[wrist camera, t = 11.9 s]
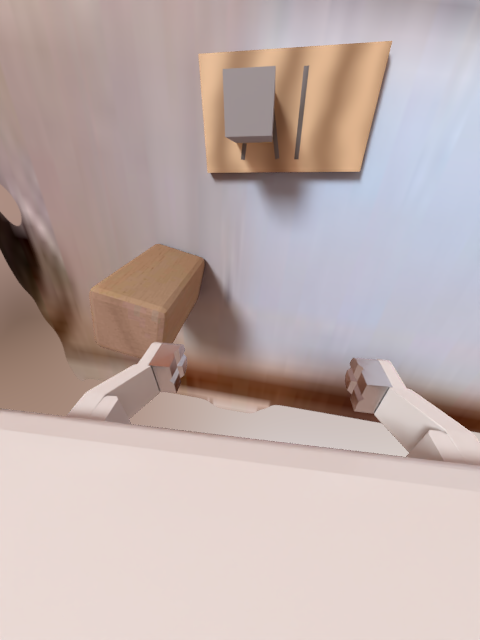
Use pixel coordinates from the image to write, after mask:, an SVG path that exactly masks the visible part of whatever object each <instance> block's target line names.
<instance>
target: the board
mask: <svg viewBox="0 0 480 640" xmlns="http://www.w3.org/2000/svg"><path fill="white" fill-rule="evenodd" d="M391 44H392V41H385V42H370V43H355V44H340V45H325V46H310V47H295V48H280V49H265V50H250V51H235V52H220V53H205V54H199V67H200V80H201V93H202V106H203V119H204V132H205V145H206V158H207V171H208V173H243V172H360V169H361V165H362V161H363V157H364V153H365V149H366V145H367V141H368V137H369V132H370V128H371V124H372V120H373V116H374V112H375V108H376V104H377V100H378V96H379V92H380V88H381V84H382V80H383V76H384V72H385V68H386V64H387V60H388V56H389V52H390V48H391ZM264 66H276V76H275V104H274V121H273V139H272V143H235V142H233V141H231V140H230V139H228V138H226V137H225V120H224V94H223V69H231V68H248V67H264Z"/></svg>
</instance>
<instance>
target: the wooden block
mask: <svg viewBox="0 0 480 640" xmlns="http://www.w3.org/2000/svg"><path fill="white" fill-rule="evenodd" d="M204 266H205V262H204V259H203V258H201V257H198V256H195V255H192V254H189V253H186V252H183V251H180V250H177V249H174V248H170V247H167V246H164V245H161V244H155V245H154V246H153V247H151V248H150V249H148V250H147V251H145V252H144V253H142V254H141V255H139V256H138V257H136V258H135V259H133V260H132V261H130V262H129V263H128V264H126V265H125V266H123V267H122V268H120V269H119V270H117V271H116V272H114V273H113V274H111V275H110V276H108V277H107V278H105V279H104V280H102V281H101V282H100V283H98V284H97V285H95V286H94V287H92V289H91V290H90V293H89V299H90V306H91V313H92V320H93V328H94V335H95V342H96V343H97V345H99V346H100V347H103V348H106V349H110V350H113V351H117V352H120V353H124V354H127V355H130V356H134V357H137V358H142V357H143V355H144V354H145V353H146V351H147V350H148V348H149V347H150V345H151V344H152V343H153V342H160V343H173V341H174V340H175V338H176V336H177V334H178V333H179V331H180V329H181V327H182V326H183V324H184V322H185V320H186V318H187V317H188V315H189V313H190V311H191V310H192V308H193V306H194V304H195V303H196V301H197V299H198V296H199V291H200V286H201V281H202V276H203V271H204Z"/></svg>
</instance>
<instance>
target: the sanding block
mask: <svg viewBox="0 0 480 640" xmlns="http://www.w3.org/2000/svg"><path fill="white" fill-rule="evenodd" d="M275 76H276V66H264V67H248V68H231V69H223V94H224V120H225V137H226V138H228V139H230V140H231V141H233V142H235V143H272V139H273V121H274V104H275Z"/></svg>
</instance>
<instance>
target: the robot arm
mask: <svg viewBox="0 0 480 640" xmlns="http://www.w3.org/2000/svg"><path fill="white" fill-rule="evenodd" d="M184 352H185V348H184V345H181V344H172V343H160V342H153V343H152V344H151V345H150V347H149V348H148V350H147V351H146V353H145V354H144V355H143V357H142V358H141V360H140V361H139V363H138V364H137V365H135V364H134V365H133V366H131V367H129V368H127V369H126V370H124V371H122V372H120V373H119V374H117V375H115V376H113V377H112V378H110V379H108V380H106V381H105V382H103V383H101V384H100V385H98V386H96V387H94V388H93V389H91V390H89V391H87V392H86V393H85V394H84V395H83V396H82V398H81V399H80V400H79V401H78V403H77V404H76V405H75V406H74V407H73V409H72V410H71V411H70V412H69V414H68V415H67V416H59V415H50V414H42V413H34V412H25V411H17V410H8V409H1V408H0V640H480V442H479V440H478V439H477V438H476V437H475V435H474V434H473V433H472V432H470V431H469V430H468V429H466V428H465V427H463V426H462V425H461V424H459V423H458V422H456V421H455V420H453V419H452V418H451V417H449V416H448V415H446V414H445V413H444V412H442V411H441V410H439V409H438V408H437V407H435V406H434V405H432V404H431V403H429V402H428V401H427V400H425V399H424V398H422V397H421V396H420V395H418V394H417V393H415V392H414V391H413V390H411V389H407V388H406V386H405V385H404V383H403V381H402V380H401V378H400V376H399V375H398V373H397V371H396V370H395V368H394V366H393V365H392V363H391V362H390V361H389V360H380V359H364V358H353V359H352V360H351V362H350V366H351V368H350V369H349V370H347V372H346V375H345V384H346V388H347V390H348V391H349V392H350V393H351V394H352V395H351V397H350V400H351V403H352V406H353V409H354V411H357V412H365V413H373V414H374V415H375V416H376V417H377V418H378V419H379V421H380V422H381V423H382V424H383V425H384V426H385V427H386V428H387V429H388V430H389V431H390V432H391V434H392V435H394V437H395V438H396V439H397V440H398V441H399V442H400V443H401V444H402V445H403V446H404V448H405V449H406V450H407V451H408V452H409V454H408V455H407V456H406V457H401V456H393V455H383V454H376V453H368V452H359V451H351V450H343V449H333V448H326V447H317V446H309V445H300V444H291V443H284V442H275V441H267V440H259V439H250V438H242V437H234V436H225V435H216V434H208V433H200V432H192V431H184V430H175V429H167V428H159V427H150V426H142V425H134V424H131V422H130V420H129V419H130V418H131V417H133V416H134V415H135V414H136V413H137V412H138V411H139V410H141V409H142V408H143V407H144V406H145V405H146V404H147V403H149V402H150V401H151V400H152V399H153V398H154V397H155V396H157V395H158V394H159V393H160V392H169V393H177V391H178V388H179V386H180V384H181V379H180V378H181V377H182V376H184V374H185V372H186V368H187V358H186V356H185V355H184Z"/></svg>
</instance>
